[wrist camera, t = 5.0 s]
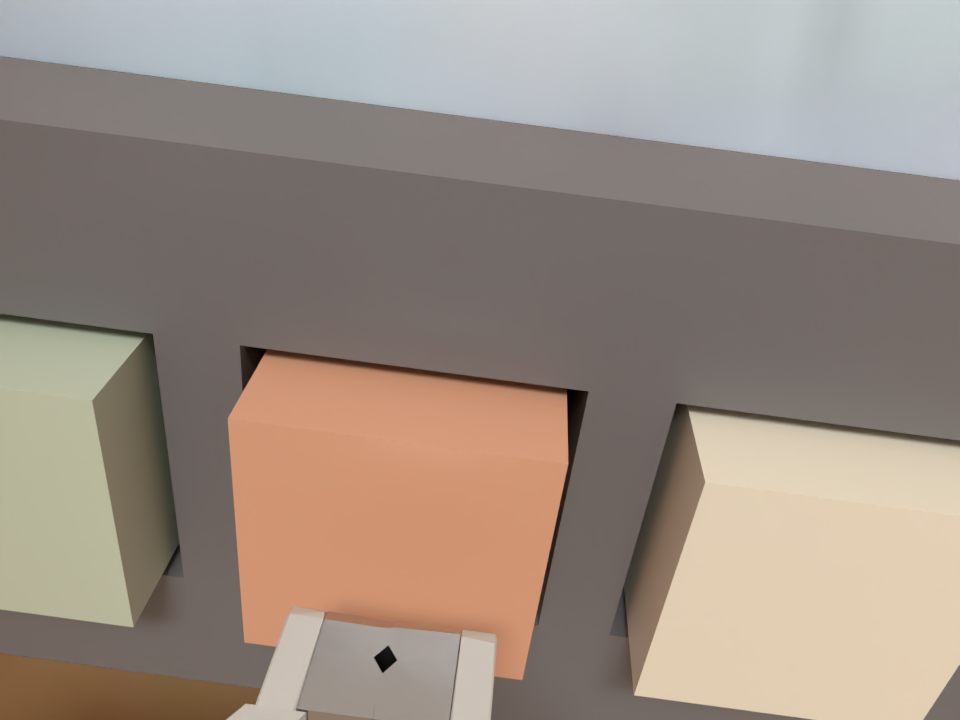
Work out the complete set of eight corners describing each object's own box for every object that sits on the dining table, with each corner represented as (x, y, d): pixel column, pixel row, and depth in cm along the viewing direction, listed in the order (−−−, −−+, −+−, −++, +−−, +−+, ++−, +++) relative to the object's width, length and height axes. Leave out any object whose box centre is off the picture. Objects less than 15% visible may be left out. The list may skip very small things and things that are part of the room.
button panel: (-69, 534, 20) (-178, 655, 17) (-248, 24, 14) (-471, 74, 11) (892, 663, 20) (951, 808, 17) (1161, 206, 14) (1334, 309, 11)
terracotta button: (290, 524, 17) (243, 642, 15) (285, 318, 14) (227, 419, 12) (526, 556, 17) (522, 679, 15) (566, 355, 14) (568, 463, 12)
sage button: (-40, 480, 17) (-143, 589, 15) (-105, 266, 14) (-246, 355, 12) (195, 512, 17) (134, 627, 15) (173, 303, 14) (92, 400, 12)
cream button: (622, 568, 17) (633, 695, 15) (679, 370, 14) (704, 482, 12) (860, 601, 17) (914, 733, 14) (962, 407, 14) (1049, 528, 12)
